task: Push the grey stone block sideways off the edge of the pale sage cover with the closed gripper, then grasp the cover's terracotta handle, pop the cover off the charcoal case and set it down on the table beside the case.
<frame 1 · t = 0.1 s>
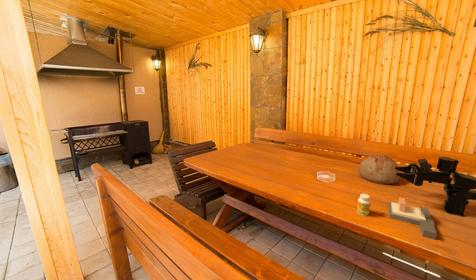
hand: (395, 170, 111), 17 cm above the table, tool horizontal, fingers open, 9 cm apart
bread: (377, 177, 142), on the table
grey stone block: (424, 211, 95), point 4 cm above the table, slide at 0.0 cm
supplement bottle: (362, 213, 103), on the table
case: (408, 216, 99), on the table
cover: (407, 212, 99), point 2 cm above the table, touching case
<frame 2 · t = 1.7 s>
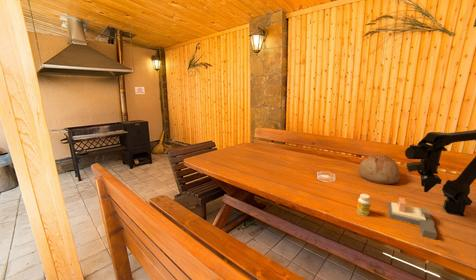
hand: (424, 189, 100), 12 cm above the table, tool pointing down, fingers open, 6 cm apart
nothing on the table moved.
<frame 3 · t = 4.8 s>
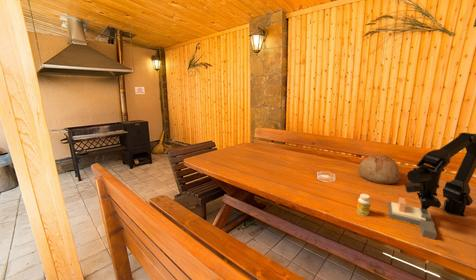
hand: (423, 210, 97), 4 cm above the table, tool pointing down, fingers closed
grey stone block: (425, 213, 94), point 4 cm above the table, slide at 1.6 cm, touching gripper
everything else where it was.
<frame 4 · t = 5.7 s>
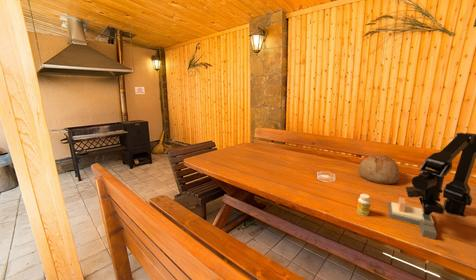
hand: (425, 215, 93), 4 cm above the table, tool pointing down, fingers closed
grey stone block: (427, 219, 90), point 4 cm above the table, slide at 6.7 cm, touching gripper
everything else where it was.
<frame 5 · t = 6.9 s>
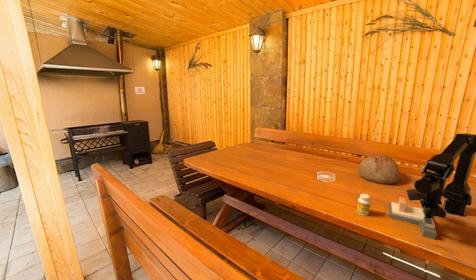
hand: (426, 219, 91), 4 cm above the table, tool pointing down, fingers closed
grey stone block: (428, 223, 88), point 4 cm above the table, slide at 9.5 cm, touching gripper
everything else where it was.
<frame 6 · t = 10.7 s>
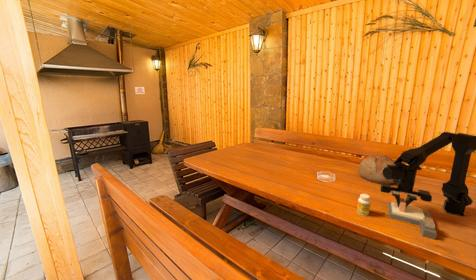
hand: (401, 207, 100), 4 cm above the table, tool pointing down, fingers closed on cover
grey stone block: (428, 223, 88), point 4 cm above the table, slide at 9.5 cm
cover: (407, 212, 99), point 2 cm above the table, touching case, gripper
everything else where it was.
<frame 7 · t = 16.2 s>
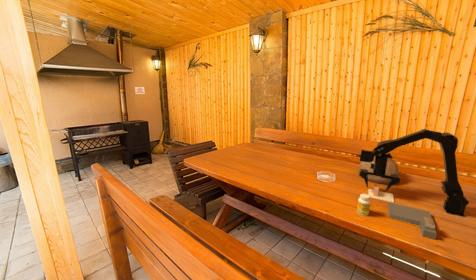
hand: (376, 189, 118), 3 cm above the table, tool pointing down, fingers open, 9 cm apart
cover: (380, 196, 118), on the table
everything else where it was.
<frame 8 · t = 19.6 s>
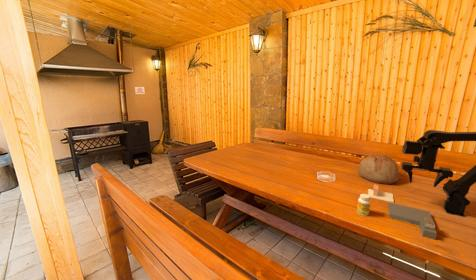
hand: (422, 184, 105), 12 cm above the table, tool pointing down, fingers open, 9 cm apart
nothing on the table moved.
at the end: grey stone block slide at 9.5 cm; cover inside the target area (0.3 cm from its centre), on the table; cover tilted 0° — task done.
